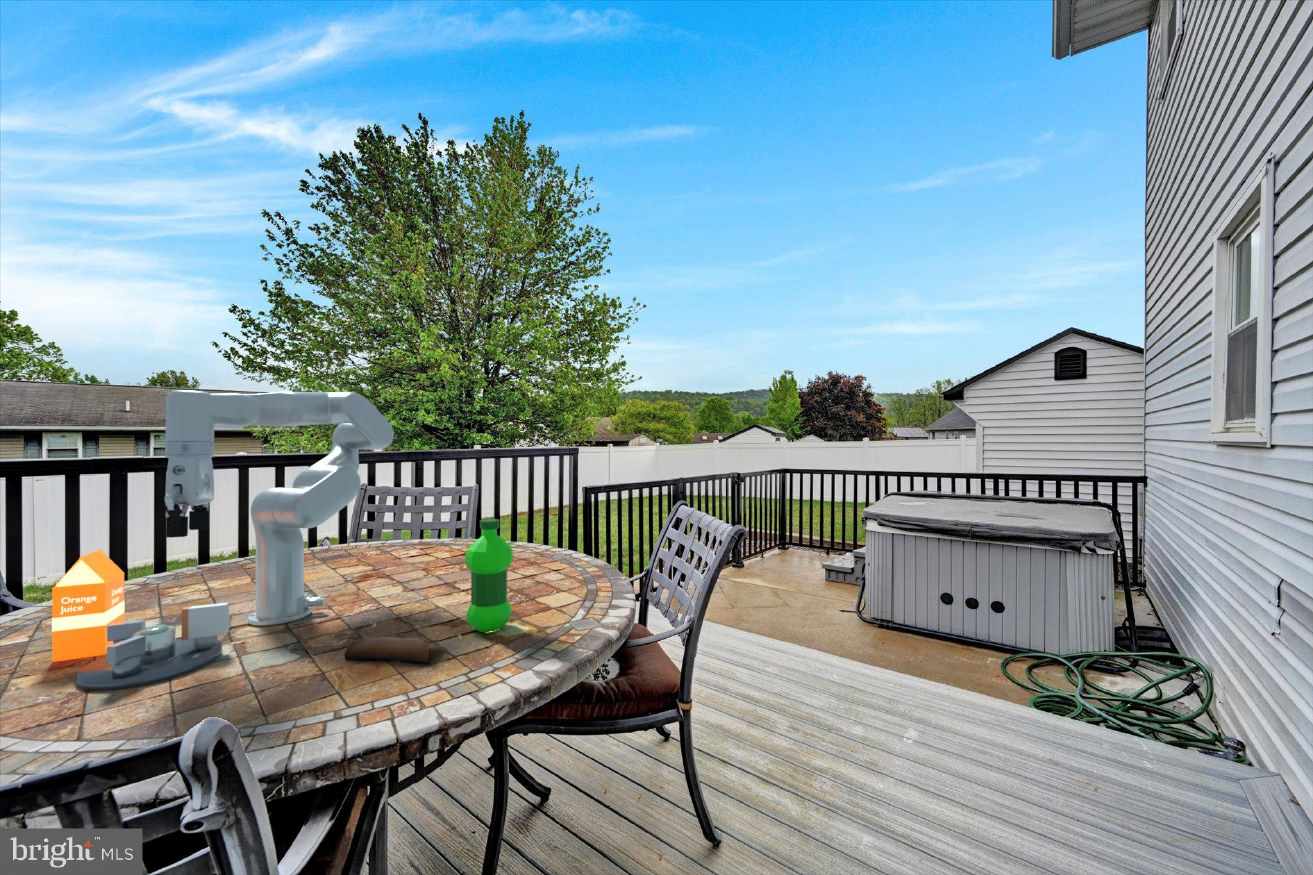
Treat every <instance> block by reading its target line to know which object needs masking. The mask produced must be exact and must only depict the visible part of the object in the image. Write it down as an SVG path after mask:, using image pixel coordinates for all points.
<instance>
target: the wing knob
mask: <svg viewBox="0 0 1313 875" xmlns="http://www.w3.org/2000/svg"><path fill="white" fill-rule="evenodd" d="M229 608H230V602H229V601H228V602H220V603H211V604H202V605H193V606H192V605H190V606H185V607H183V608H182V609H181V639H182V640H188V639H193V638H194V648H195V649H204V648H208V647H212V646H214V645H216V644H217V640H218V636H223V635H227V634H228V632H230V631H229V630H230V624H229V623H230V622H229V621H230V619H229V617H230V616H229V615H230V613H229V612H230V609H229Z"/></svg>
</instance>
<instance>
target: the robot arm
mask: <svg viewBox="0 0 1313 875" xmlns="http://www.w3.org/2000/svg"><path fill="white" fill-rule="evenodd" d="M328 424H329V425H331V424H333V425H335V424H338V425H337V426H336V427H335V429H334V431H333V434H332V447H331V450H330V453H329V454H327V455H326V456H325V457H323V458H322V459H320V460H318V461H317V462H315V463H314V464H312V465H310V466H308V467H307V468H305V469H304V470H303V471H301V472H299V474H297V476H296V477H295V478H294V480H293V482H292V487H279V486H278V487H271V488H268V489H265V490H263V491H260V493H258V494H257V495H256V496H255V497H254V499H253V500H252V503H251V506H250V516H251V520H252V524H253V528H254V529H253V530H254V535H255V537H254V538H255V611H254V612H253V613H251V614H249V615H248V617H247V624H249V625H251V626H258V627H259V626H261V627H262V626H265V627H266V626H273V625H281V624H287V623H291V622H294V621H298V620H301V619H303V618H306V617H308V616H309V615H310V614H311V613H312V607H317V608H318V607H324V606H325V602H326V601H325V597H321V596H316V597H310V596H309V597H308V594H307V592H304V591H305V590H304V589H305V586H304V585H305V582H304V581H305V579H304V578H305V575H304V574H305V570H304V569H305V562H304V560H305V555H304V554H305V540H304V537H303V534H302V530H301V529H312V528H316V527H317V526H318V527H319V526H321V525H322V524H324V523H325V522H326V521H328V520H330V518H331V517H334V516H335V515H336V514H337V513H338V512H340V511H341V510H342V509H344V508H345V507H346V506H347V505H349V504H350V503H351V502H352V501H353V500H354V499H355V498H356V496H358V493H359V492H360V489H361V482H362V481H361V477H360V475H359V473H358V471H359V467H360V460H359V450H372V451H374V450H383V449H386V448H388V447H389V446H390V445H391V444H392V443H393V441H394V437H395V436H394V433H395V432H394V429H393V427H392V425H391V423H390V422H389V421H388V419H386V417H384V416H383V414H382V413H381V412H380V411H379V410H378V409H377V408H376V407H375V406H374V405H373V404H372V403H371V402H370V401H369V400H368V399H367V398H365V397H364V396H363V395H361V394H359V393H357V392H355V391H338V392H337V391H336V392H335V391H334V392H332V391H330V392H329V391H326V392H319V391H314V392H311V391H305V392H304V391H278V392H276V391H275V392H266V393H265V392H264V393H255V394H253V393H252V394H251V393H249V394H243V393H209V392H207V391H199V390H187V389H186V390H184V389H183V390H180V389H179V390H172V391H170V392H168V393H167V396H166V402H165V437H164V438H165V440H164V441H165V444H164V449H165V450H164V457H165V458H168V461H167V462H168V463H167V469H166V478H165V493H164V494H165V496H164V503H165V506H164V509H165V518H166V519H165V521H166V523H165V524H166V525H165V526H166V528H165V536H166V538H169V539H170V538H185V537H187V536H188V535H189V530H190V531H195V530H197V531H198V530H208V529H209V528H210V527H209V526H210V525H209V524H210V518H209V517H210V503H212V502H213V501H214V499H215V482H214V481H215V478H214V476H215V475H214V465H213V460H212V458H214V456H215V454H214V453H215V452H214V450H215V428H244V427H249V426H264V427H265V426H267V427H295V426H296V427H298V426H313V425H315V426H317V425H328ZM189 507H190V509H191V510H189ZM188 510H189V513H188V515H187V512H188Z"/></svg>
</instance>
